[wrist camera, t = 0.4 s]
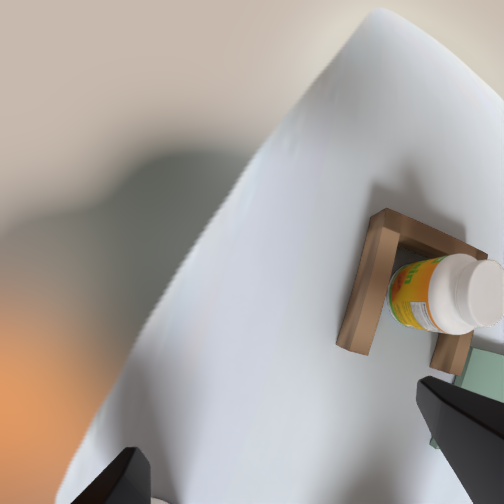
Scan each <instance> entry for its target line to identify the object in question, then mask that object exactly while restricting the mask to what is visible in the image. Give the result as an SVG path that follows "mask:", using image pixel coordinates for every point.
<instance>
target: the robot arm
mask: <svg viewBox="0 0 504 504" xmlns="http://www.w3.org/2000/svg"><path fill="white" fill-rule="evenodd" d="M416 401H417V405H418V407H419V409H420V411H421V413H422V415H423V417H424V419H425V421H426V423H427V426H428V428H429V430H430V432H431V434H432V436H433V438H434V440H435V442H436V443H437V445H438V446H439V448H440V450H441V451H442V453H443V454H444V456H445V458H446V459H447V461H448V462H449V464H450V466H451V467H452V469H453V470H454V472H455V474H456V475H457V477H458V479H459V480H460V482H461V484H462V485H463V487H464V488H465V490H466V492H467V493H468V495H469V497H470V499H471V500H472V502H473V504H504V403H503V402H500V401H498V400H495V399H492V398H489V397H486V396H483V395H481V394H478V393H475V392H472V391H470V390H467V389H464V388H461V387H459V386H456V385H453V384H451V383H448V382H445V381H443V380H440V379H438V378H435V377H432V376H427V377H424V378H422V379H420V380H419V381H418V383H417V394H416ZM71 504H151V482H150V464H149V461H148V460H147V459H146V457H145V456H144V454H143V453H142V452H141V450H140V449H139V448H138V447H126V448H125V449H123V451H122V452H121V453H120V454H119V455H118V456H117V457H116V458H115V459H114V460H113V461H112V462H111V463H110V464H109V465H108V466H107V467H106V468H105V469H104V470H103V471H102V472H101V473H100V474H99V475H98V476H97V477H96V478H95V479H94V481H93V482H92V483H91V484H90V485H89V486H88V487H87V488H86V489H85V490H84V491H83V492H82V493H81V494H80V495H79V496H78V497H77V498H76V499H75V500H74V501H73V502H72V503H71Z"/></svg>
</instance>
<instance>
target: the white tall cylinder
mask: <svg viewBox="0 0 504 504" xmlns="http://www.w3.org/2000/svg"><path fill="white" fill-rule="evenodd" d="M151 504H169V503H167V502H165V501H163V500H160V499H156V498H151Z"/></svg>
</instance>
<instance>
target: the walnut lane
mask: <svg viewBox="0 0 504 504" xmlns="http://www.w3.org/2000/svg"><path fill="white" fill-rule="evenodd" d="M397 246H399V247H401V248H404V249H406V250H409V251H412V252H414V253H417V254H419V255H422V256H424V257H427V258H429V259H434V258H439V257H444V256H448V255H453V254H467V255H470V256H472V257H474V258H475V259H476V260H478V261H479V260H487V258H488V254H486V253H484V252H482V251H480V250H478V249H476V248H474V247H472V246H470V245H468V244H466V243H464V242H462V241H460V240H458V239H456V238H454V237H452V236H450V235H447V234H445V233H443V232H441V231H439V230H437V229H434V228H432V227H430V226H428V225H425V224H423V223H421V222H419V221H416V220H414V219H412V218H409V217H407V216H405V215H402V214H400V213H398V212H395V211H393V210H390V209H388V208H386V209H384V210H382V211H380V212H379V213H377V214H375V215H374V216H372V217H371V218H370V223H369V227H368V232H367V236H366V240H365V244H364V249H363V253H362V257H361V260H360V264H359V268H358V272H357V276H356V279H355V283H354V287H353V290H352V294H351V297H350V301H349V304H348V308H347V311H346V314H345V318H344V321H343V324H342V327H341V331H340V334H339V337H338V340H337V343H336V345H338V346H340V347H342V348H344V349H346V350H348V351H351V352H355V353H359V354H363V355H367V356H368V354H369V350H370V347H371V344H372V341H373V338H374V335H375V331H376V328H377V325H378V321H379V318H380V314H381V311H382V307H383V304H384V300H385V296H386V292H387V288H388V285H389V281H390V276H391V272H392V268H393V264H394V259H395V255H396V250H397ZM473 332H474V330H472V331H470V332H468V333H466V334H462V335H452V334H445V333H440V334H439V338H438V341H437V345H436V348H435V352H434V355H433V358H432V361H431V365H430V367H431V368H434V369H437V370H440V371H443V372H446V373H449V374H454V375H459V376H461V374H462V371H463V367H464V364H465V361H466V358H467V354H468V351H469V347H470V343H471V340H472V336H473Z"/></svg>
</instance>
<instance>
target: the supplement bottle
mask: <svg viewBox="0 0 504 504" xmlns="http://www.w3.org/2000/svg"><path fill="white" fill-rule="evenodd" d="M387 303H388V307H389V310H390V312H391V314H392V316H393V317H394V319H395V320H396V321H397V322H399V323H400V324H402V325H404V326H406V327H410V328H414V329H421V330H427V331H433V332H440V333H445V334H452V335H462V334H466V333H468V332H470V331H472V330H474V329H475V328H476V327H490V326H493V325H495V324H496V323H498V322H499V321H500V320H501V318H502V317H503V315H504V269H503V268H502V266H501V265H500V264H499V263H497V262H496V261H494V260H489V259H487V260H479V261H478V260H476V259H475V258H474V257H472V256H470V255H467V254H453V255H448V256H444V257H439V258H434V259H429V260H424V261H419V262H413V263H409V264H406V265H404V266H402V267H401V268H399V269H398V270H397V271H396V272H395V273H394V275H393V276H392V278H391V280H390V282H389V285H388V290H387Z"/></svg>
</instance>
